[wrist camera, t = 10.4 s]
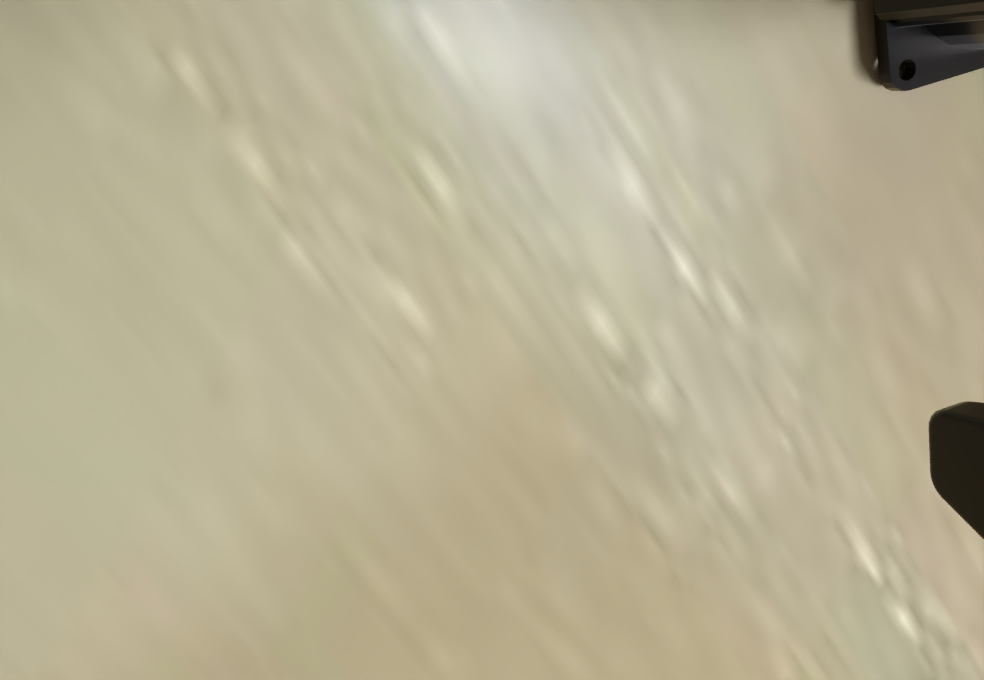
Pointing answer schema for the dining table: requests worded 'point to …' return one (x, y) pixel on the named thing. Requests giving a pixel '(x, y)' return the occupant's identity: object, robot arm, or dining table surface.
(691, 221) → the dining table surface
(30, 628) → the dining table surface
